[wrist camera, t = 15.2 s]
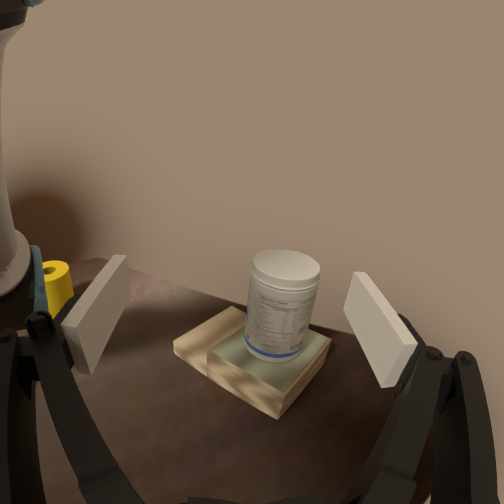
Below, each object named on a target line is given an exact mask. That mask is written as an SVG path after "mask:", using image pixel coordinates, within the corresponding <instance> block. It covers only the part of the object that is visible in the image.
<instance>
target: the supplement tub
mask: <svg viewBox="0 0 504 504" xmlns="http://www.w3.org/2000/svg"><path fill="white" fill-rule="evenodd" d="M250 274H251V275H250V283H249V293H248V304H247V313H246V323H245V332H244V342H245V346H246V348H247V349H248V351H249V352H250V353H251V354H252V355H254V356H255V357H257V358H259V359H261V360H264V361H268V362H275V363H279V362H286V361H289V360H292V359H293V358H295V357H296V356H298V355H299V354H300V352H301V351H302V348H303V345H304V341H305V337H306V334H307V330H308V326H309V322H310V318H311V314H312V309H313V305H314V302H315V297H316V293H317V289H318V284H319V279H320V277H319V275H320V266H319V264H318V263H317V262H316V261H315V260H314V259H313V258H311V257H309V256H308V255H305V254H303V253H300V252H296V251H292V250H285V249H271V250H265V251H262V252H260V253H258V254H256V255H255V256H254V258H253V263H252V267H251V273H250Z"/></svg>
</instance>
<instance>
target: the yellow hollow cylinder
mask: <svg viewBox="0 0 504 504" xmlns="http://www.w3.org/2000/svg"><path fill="white" fill-rule="evenodd" d="M42 264H43V271H44V279H45V289H46V293H47V300H48V308H49V313H50V314H51V315H52V319H54V317H55V316H56V315H57V313H58V312H59V311H60V309H61V308H62V307H64V304H65V303H66V302H67V300H68V299H70V298H71V297H73V296H74V292H73V287H72V282H71V277H70V272H69V266H68V264H67V263H65V262H62V261H48V262H44V263H42Z"/></svg>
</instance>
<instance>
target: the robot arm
mask: <svg viewBox="0 0 504 504" xmlns="http://www.w3.org/2000/svg"><path fill="white" fill-rule="evenodd" d="M43 1H44V0H0V504H46V500H45V495H44V490H43V484H42V478H41V471H40V464H39V455H38V445H37V432H36V408H35V388H36V381H40V382H41V386H42V389H43V393H44V396H45V399H46V402H47V405H48V408H49V411H50V414H51V417H52V420H53V423H54V426H55V428H56V431H57V433H58V436H59V438H60V441H61V443H62V446H63V448H64V450H65V453H66V455H67V457H68V459H69V462H70V464H71V466H72V468H73V470H74V472H75V474H76V476H77V478H78V481H79V483H78V486H79V489H80V491H81V493H82V495H83V497H84V498H85V500H86V502H87V504H145V503H144V502H143V500H142V499H141V498H140V496H139V495H138V494H137V492H136V491H135V489H134V488H133V486H132V485H131V484H130V482H129V481H128V479H127V478H126V476H125V475H124V473H123V471H122V470H121V468H120V467H119V465H118V464H117V462H116V460H115V459H114V457H113V455H112V454H111V452H110V450H109V448H108V447H107V445H106V443H105V441H104V440H103V438H102V436H101V434H100V432H99V430H98V428H97V427H96V425H95V423H94V421H93V419H92V417H91V415H90V413H89V411H88V409H87V406H86V404H85V402H84V400H83V398H82V396H81V393H80V391H79V389H78V386H77V384H76V382H75V379H74V377H73V374H72V372H71V368H72V366H73V364H74V365H75V368H76V370H77V372H78V373H83V374H87V375H91V376H92V374H93V372H94V370H95V367H96V365H97V363H98V361H99V359H100V357H101V355H102V353H103V350H104V348H105V346H106V344H107V342H108V340H109V338H110V336H111V334H112V332H113V330H114V328H115V326H116V324H117V322H118V320H119V318H120V316H121V314H122V313H123V311H124V309H125V307H126V305H127V303H128V301H129V299H130V297H131V294H130V285H129V275H128V265H127V256H126V255H116V254H115V255H114V256H113V257H112V258H111V259H110V261H109V262H108V263H107V264H106V265H105V267H104V268H103V269H102V270H101V272H100V273H99V274H98V275H97V277H96V278H95V279H94V280H93V282H92V283H91V284H90V285H89V287H88V288H87V289H86V291H85V292H84V293H83V295H78V294H76V295H74V296H73V297H71V298H70V299H68V300H67V302H66V303H65V304H64V307H62V308H61V309H60V311H59V312H58V313H57V315H56V316H55V317H54V319H52V315H51V314H50V313H49V308H48V300H47V293H46V289H45V279H44V271H43V264H42V258H41V252H40V248H39V247H38V246H33V245H28V242H27V240H26V238H25V237H24V236H23V235H22V234H21V233H20V232H19V231H17V230H15V229H14V225H13V220H12V216H11V211H10V205H9V200H8V194H7V188H6V181H5V173H4V164H3V153H2V140H1V81H2V68H3V59H4V50H5V46H6V44H7V42H8V41H9V40H10V39H11V38H12V37H13V35H15V34H16V33H17V31H19V30H20V29H21V28H22V27H23V25H24V22H25V17H26V13H27V9H28V7H29V6H30V7H34V6H35V5H38V4H40V3H42V2H43ZM343 311H344V313H345V315H346V317H347V319H348V321H349V323H350V325H351V327H352V329H353V331H354V333H355V335H356V337H357V339H358V341H359V343H360V345H361V347H362V349H363V351H364V353H365V355H366V357H367V359H368V361H369V363H370V365H371V367H372V369H373V371H374V373H375V376H376V378H377V380H378V382H379V384H380V386H381V388H386V387H393V386H395V385H396V383H397V381H398V379H399V378H400V379H401V381H402V385H401V387H400V388H399V390H398V392H397V393H396V395H395V396H394V399H395V401H394V403H393V406H392V408H391V411H390V413H389V415H388V418H387V420H386V422H385V424H384V427H383V429H382V431H381V433H380V435H379V437H378V439H377V441H376V443H375V445H374V447H373V449H372V451H371V453H370V455H369V457H368V459H367V461H366V463H365V465H364V466H363V468H362V470H361V472H360V474H359V475H358V477H357V479H356V480H355V482H354V484H353V486H352V487H351V489H350V491H349V492H348V494H347V495H346V496H345V498H344V499H343V500H342V501H341V502H340V503H339V504H409V503H410V501H411V499H412V496H413V494H414V491H415V489H416V485H417V482H416V481H414V480H413V478H414V475H415V472H416V469H417V466H418V464H419V461H420V458H421V455H422V452H423V449H424V446H425V442H426V439H427V436H428V432H429V429H430V425H431V421H432V418H433V414H434V465H433V480H432V491H431V501H430V504H500V502H499V499H498V495H497V472H496V459H495V451H494V441H493V434H492V428H491V422H490V416H489V411H488V406H487V401H486V396H485V392H484V387H483V383H482V379H481V375H480V371H479V368H478V364H477V361H476V359H475V357H473V355H472V354H470V353H469V352H466V351H459V352H458V353H457V354H456V356H455V357H454V358H446V357H444V355H443V354H442V352H441V351H440V350H438V349H437V348H435V347H431V346H426V344H425V343H424V341H423V340H422V338H421V337H420V336H419V334H418V333H417V332H416V331H415V329H414V328H413V327H412V325H411V323H410V322H409V321H408V320H407V319H406V318H405V317H404V316H402V315H401V314H397V313H396V312H395V311H394V309H393V308H392V307H391V305H390V304H389V303H388V301H387V300H386V299H385V297H384V296H383V295H382V293H381V292H380V291H379V289H378V288H377V287H376V286H375V284H374V283H373V282H372V281H371V279H370V278H369V276H368V275H367V274H366V273H365V272H354V274H353V278H352V282H351V285H350V289H349V292H348V295H347V299H346V302H345V305H344V309H343ZM23 329H27V332H28V334H29V337H18V334H17V332H16V331H19V330H23ZM180 504H239V503H234V502H230V501H226V500H222V499H209V498H197V497H188V502H187V503H180ZM267 504H331V503H328V502H322V501H318V499H317V495H311V496H303V497H292V498H285V499H282V500H278V501H275V502H271V503H267Z"/></svg>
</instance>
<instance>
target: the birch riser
mask: <svg viewBox="0 0 504 504" xmlns="http://www.w3.org/2000/svg"><path fill="white" fill-rule="evenodd" d="M245 323H246V313H245V312H243V311H241V310H239V309H237V308H235V307H233V306H230V307H229V308H227V309H225V310H224V311H222V312H220V313H219V314H217V315H216V316H214V317H212V318H211V319H209V320H207V321H206V322H204V323H202V324H201V325H199V326H197V327H196V328H194V329H192V330H191V331H189V332H187V333H186V334H184V335H182V336H181V337H179V338H177V339H176V340H174V341H173V345H174V353H175V354H176V355H177V356H179V357H180V358H181V359H183V360H184V361H185V362H187V363H188V364H190V365H191V366H192V367H194V368H195V369H197V370H198V371H200V372H201V373H202V374H204V375H205V376H207V377H208V378H210V379H211V380H213V381H214V382H216V383H217V384H219V385H220V386H222V387H223V388H225V389H227V390H228V391H230V392H231V393H233V394H234V395H236V396H238V397H239V398H241V399H242V400H244V401H246V402H247V403H249V404H251V405H252V406H254V407H256V408H257V409H259V410H261V411H262V412H264V413H266V414H268V415H269V416H271V417H273V418H275V419H277V420H278V419H279V418H280V417H281V416H282V415H283V414H284V412H285V411H286V410H287V409H288V408H289V406H290V405H291V404H292V403H293V402H294V401H295V399H296V398H297V397H298V396H299V394H300V393H301V392H302V391H303V390H304V388H305V387H306V386H307V385H308V383H309V382H310V381H311V379H312V378H313V377H314V376H315V374H316V373H317V372H318V370H319V369H320V368H321V366H322V365H323V364H324V361H325V358H326V355H327V352H328V349H329V346H330V343H331V340H332V339H330V338H328V337H326V336H323V335H321V334H319V333H317V332H314V331H312V330H310V329H308V330H307V334H306V337H305V341H304V345H303V348H302V351H301V352H300V354H299V355H298V356H296V357H295V358H293V359H292V360H289V361H286V362H279V363H275V362H268V361H264V360H261V359H259V358H257V357H255V356H254V355H252V354H251V353H250V352H249V351H248V349H247V348H246V346H245V342H244V332H245Z"/></svg>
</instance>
